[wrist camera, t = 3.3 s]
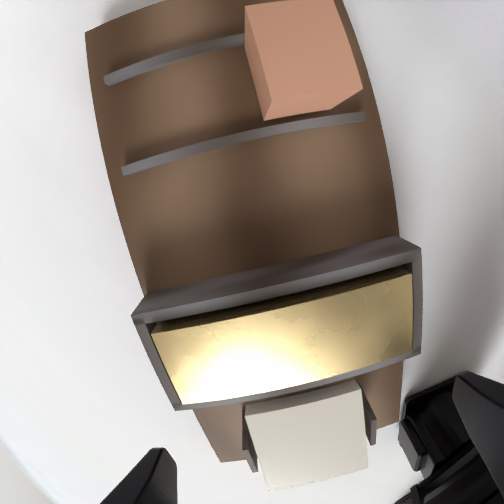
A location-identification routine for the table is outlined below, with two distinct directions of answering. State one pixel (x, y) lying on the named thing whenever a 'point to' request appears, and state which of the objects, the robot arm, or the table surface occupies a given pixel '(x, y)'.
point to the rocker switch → (309, 435)
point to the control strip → (240, 191)
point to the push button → (288, 337)
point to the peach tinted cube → (299, 57)
